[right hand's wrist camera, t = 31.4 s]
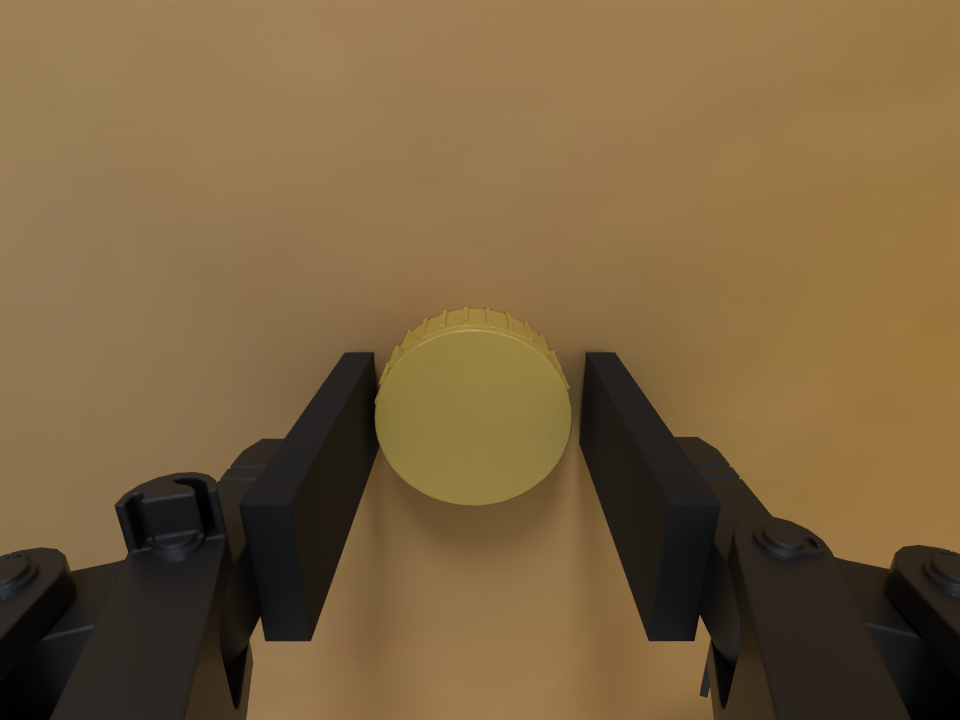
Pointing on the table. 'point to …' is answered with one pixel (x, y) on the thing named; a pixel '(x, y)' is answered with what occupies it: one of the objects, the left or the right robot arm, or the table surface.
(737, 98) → the table surface
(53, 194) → the table surface
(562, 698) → the table surface
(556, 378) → the lid
